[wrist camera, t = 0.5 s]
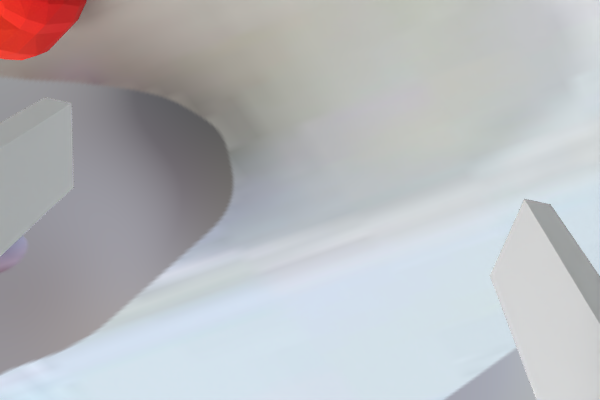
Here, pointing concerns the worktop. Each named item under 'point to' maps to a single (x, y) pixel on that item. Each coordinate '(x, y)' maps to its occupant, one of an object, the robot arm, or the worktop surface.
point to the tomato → (34, 25)
